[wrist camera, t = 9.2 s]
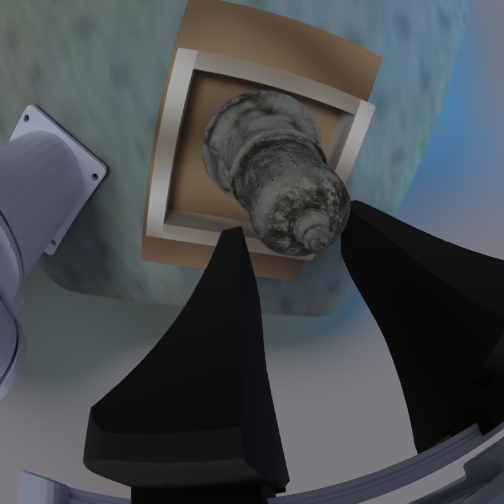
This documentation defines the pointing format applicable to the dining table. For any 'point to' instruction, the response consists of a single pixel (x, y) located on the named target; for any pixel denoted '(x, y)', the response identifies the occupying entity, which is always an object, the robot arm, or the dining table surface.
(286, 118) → the salt shaker
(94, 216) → the dining table surface
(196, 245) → the board
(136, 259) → the dining table surface
